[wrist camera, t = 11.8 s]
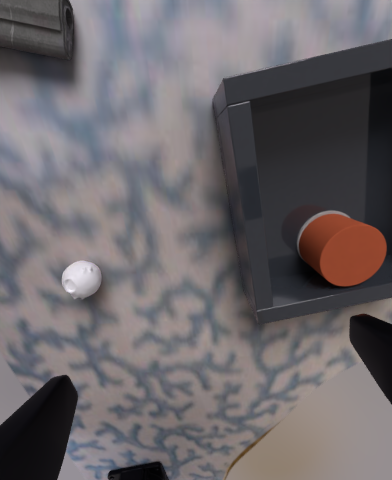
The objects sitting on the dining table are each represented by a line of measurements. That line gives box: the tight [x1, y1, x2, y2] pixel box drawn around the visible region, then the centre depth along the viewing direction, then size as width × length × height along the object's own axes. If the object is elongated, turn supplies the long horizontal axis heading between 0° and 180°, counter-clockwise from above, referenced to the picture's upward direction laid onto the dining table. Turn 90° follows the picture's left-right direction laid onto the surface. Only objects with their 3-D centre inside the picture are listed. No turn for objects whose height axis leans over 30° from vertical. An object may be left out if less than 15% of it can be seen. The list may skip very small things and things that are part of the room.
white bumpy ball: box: [62, 261, 102, 300], centre depth 18 cm, size 3×3×3 cm
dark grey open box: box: [213, 39, 392, 325], centre depth 16 cm, size 15×14×4 cm
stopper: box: [299, 214, 387, 286], centre depth 17 cm, size 4×4×3 cm
